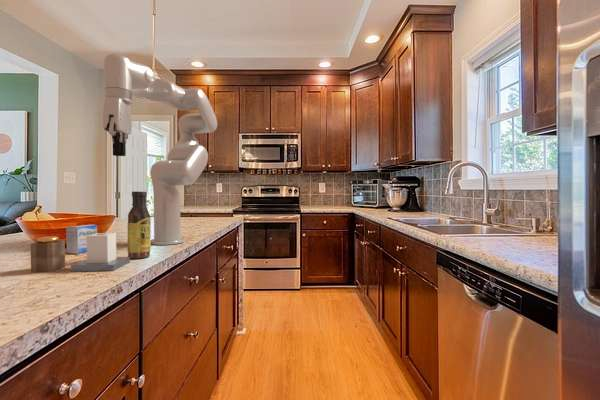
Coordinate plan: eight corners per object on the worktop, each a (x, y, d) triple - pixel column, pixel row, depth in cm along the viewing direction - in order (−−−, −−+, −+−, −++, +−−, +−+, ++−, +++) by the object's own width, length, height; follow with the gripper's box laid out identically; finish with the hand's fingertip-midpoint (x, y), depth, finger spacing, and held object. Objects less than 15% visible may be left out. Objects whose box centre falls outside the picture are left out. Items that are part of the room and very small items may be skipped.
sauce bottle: (144, 259, 96) (143, 191, 95) (123, 259, 96) (122, 191, 95) (154, 255, 102) (154, 191, 102) (134, 255, 102) (134, 191, 102)
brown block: (44, 267, 86) (44, 240, 86) (65, 266, 86) (64, 240, 86) (31, 271, 81) (30, 243, 81) (52, 271, 81) (52, 243, 81)
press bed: (92, 262, 91) (92, 257, 91) (130, 262, 92) (129, 256, 92) (70, 271, 81) (70, 265, 81) (113, 270, 82) (113, 264, 82)
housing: (96, 259, 89) (96, 233, 89) (116, 258, 90) (115, 232, 89) (87, 263, 84) (86, 235, 84) (107, 262, 85) (107, 235, 84)
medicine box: (77, 254, 104) (77, 227, 103) (66, 253, 105) (65, 226, 104) (98, 250, 111) (97, 224, 111) (86, 249, 112) (86, 224, 112)
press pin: (45, 261, 86) (44, 236, 85) (63, 261, 86) (62, 236, 86) (33, 265, 81) (32, 239, 81) (52, 264, 82) (51, 238, 81)
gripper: (116, 103, 110) (117, 158, 111) (93, 89, 95) (94, 152, 96) (140, 103, 111) (140, 158, 111) (120, 90, 96) (121, 153, 97)
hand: (119, 155), depth 104 cm, fingers closed
